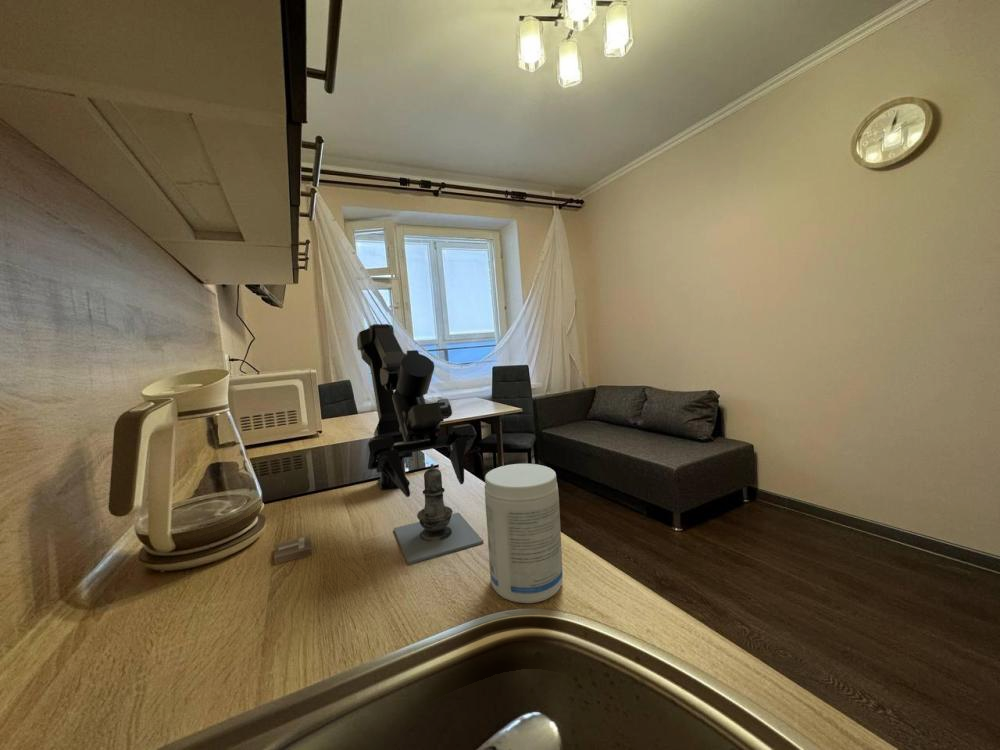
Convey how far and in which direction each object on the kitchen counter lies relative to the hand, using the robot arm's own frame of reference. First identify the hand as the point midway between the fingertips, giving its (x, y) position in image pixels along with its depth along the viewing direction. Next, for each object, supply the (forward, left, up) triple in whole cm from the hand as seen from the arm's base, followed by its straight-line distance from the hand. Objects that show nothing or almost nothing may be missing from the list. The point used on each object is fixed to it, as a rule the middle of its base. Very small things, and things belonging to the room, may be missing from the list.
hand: (436, 489), depth 61 cm
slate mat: (-1, 0, -9) cm, 9 cm away
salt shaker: (-2, 0, -8) cm, 8 cm away
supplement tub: (+17, +7, -9) cm, 20 cm away
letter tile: (-8, -22, -9) cm, 25 cm away
